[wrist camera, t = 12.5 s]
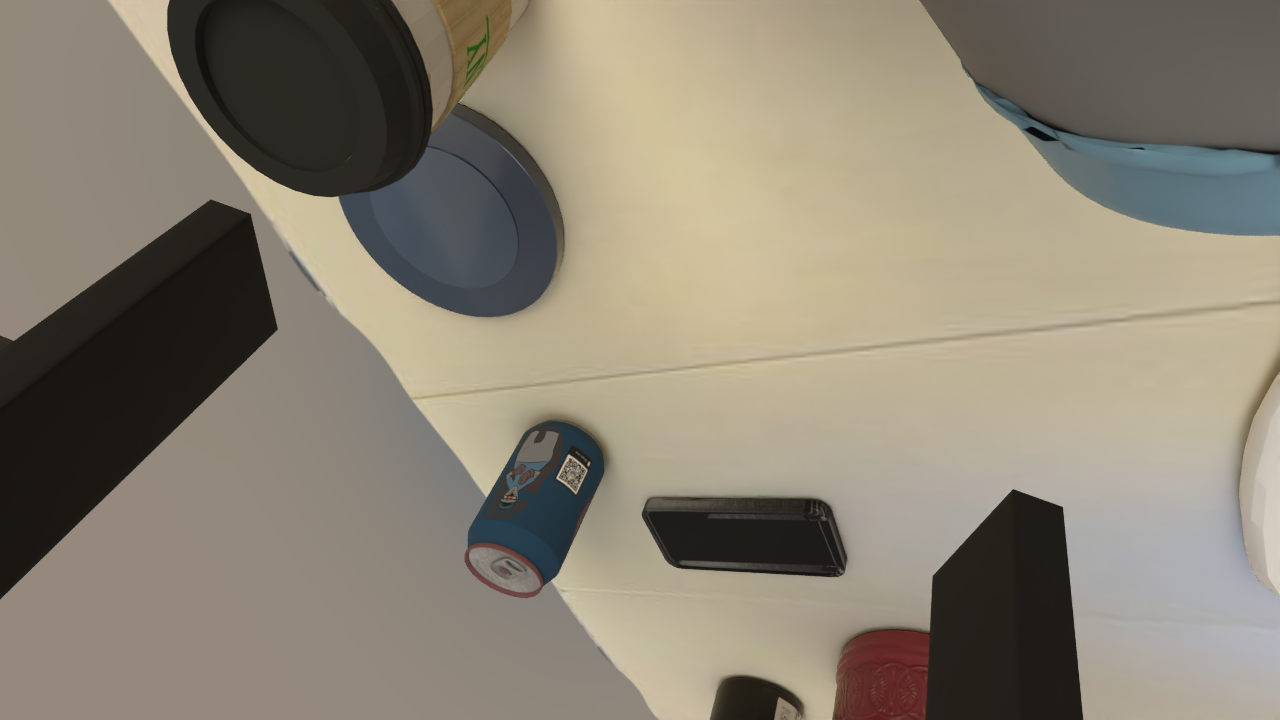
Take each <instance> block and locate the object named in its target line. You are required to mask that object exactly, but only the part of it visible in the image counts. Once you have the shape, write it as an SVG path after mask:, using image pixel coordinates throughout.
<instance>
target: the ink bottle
mask: <svg viewBox="0 0 1280 720" xmlns="http://www.w3.org/2000/svg"><path fill="white" fill-rule="evenodd" d="M802 718H803V711H802V707H801V705H800V703H799V702H798V701H797V700H796V698H794V697H793V696H792V695H791V694H789V693H788V692H786V691H784V690H783V689H781V688H778V687H776V686H774V685H771V684H768V683H765V682H762V681H758V680H754V679H749V678H731V679H727V680H725V681H724V682H722V683H721V684H720V685H719V687H718V689H717V692H716V696H715V700H714V704H713V708H712V712H711V716H710V720H802Z"/></svg>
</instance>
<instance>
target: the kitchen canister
mask: <svg viewBox="0 0 1280 720" xmlns="http://www.w3.org/2000/svg"><path fill="white" fill-rule="evenodd" d="M929 641H930V635H929V634H924V633H919V632H912V631H903V630H885V631H876V632H871V633H867V634H864V635H861V636H858V637H856V638H854V639H853V640H851V641H850V642H849V643H848V644H847V645H846V646H845V648H844V650H843V653H842V657H841V658H840V660H839V663H838V666H837V674H836V684H837V689H836V697H835V704H834V712H833V719H832V720H925V719H926V699H927V680H928V660H929Z"/></svg>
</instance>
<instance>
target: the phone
mask: <svg viewBox="0 0 1280 720" xmlns="http://www.w3.org/2000/svg"><path fill="white" fill-rule="evenodd" d="M642 517H643V519H644V521H645V523H646V525H647V527H648V529H649V530H650V532H651V534H652V536H653V538H654V540H655V541H656V543H657V545H658V547H659V549H660V551H661V552H662V554H663V556H664V558H665V560H666V561H667V562H668V563H669V564H670V565H672V566H674V567H677V568H681V569H698V570H716V571H733V572H751V573H769V574H787V575H805V576H822V577H839V576H841V575H843V574H844V572H845V568H846V561H847V557H846V554H845V551H844V548H843V545H842V542H841V539H840V536H839V533H838V530H837V527H836V524H835V521H834V518H833V515H832V512H831V509H830V508H829V506H827V505H826V504H825V503H823V502H821V501H818V500H801V499H697V498H652V499H649V500H648V501H647V502H646V504H645V507H644V509H643V512H642Z"/></svg>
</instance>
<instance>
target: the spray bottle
mask: <svg viewBox="0 0 1280 720" xmlns="http://www.w3.org/2000/svg"><path fill="white" fill-rule="evenodd" d="M1239 501H1240V510H1241V519H1242V528H1243V537H1244V543H1245V547H1246V551H1247V555H1248V559H1249V563H1250V567H1251V569H1252V571H1253V573H1254V574H1255V576H1256V578H1257V580H1258V581H1259V582H1261V583H1262V584H1263V585H1264V586H1265V587H1267V588H1268V589H1269V590H1270V591H1272V592H1273V593H1275V594H1276V595H1278V596H1279V597H1280V372H1279V373H1278V375H1277V376H1276V378H1275V380H1274V381H1273V383H1272V384H1271V386H1270V388H1269V390H1268V392H1267V394H1266V396H1265V397H1264V399H1263V401H1262V403H1261V405H1260V407H1259V409H1258V411H1257V413H1256V414H1255V416H1254V418H1253V421H1252V425H1251V428H1250V432H1249V435H1248V438H1247V442H1246V445H1245V449H1244V454H1243V462H1242V470H1241V478H1240V486H1239Z"/></svg>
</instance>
